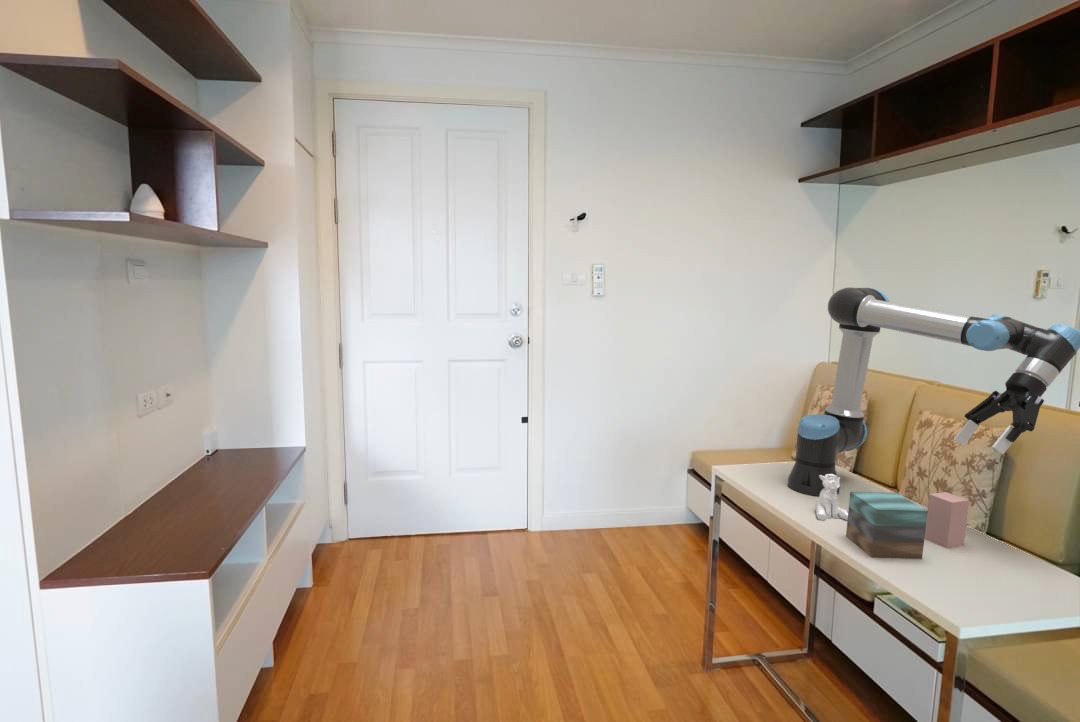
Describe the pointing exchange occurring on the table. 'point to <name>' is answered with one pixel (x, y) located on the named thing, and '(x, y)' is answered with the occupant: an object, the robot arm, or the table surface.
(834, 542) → the table surface
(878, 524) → the teal topped wooden cube
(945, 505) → the rose brick
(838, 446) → the robot arm
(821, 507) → the sitting furry creature
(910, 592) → the table surface
